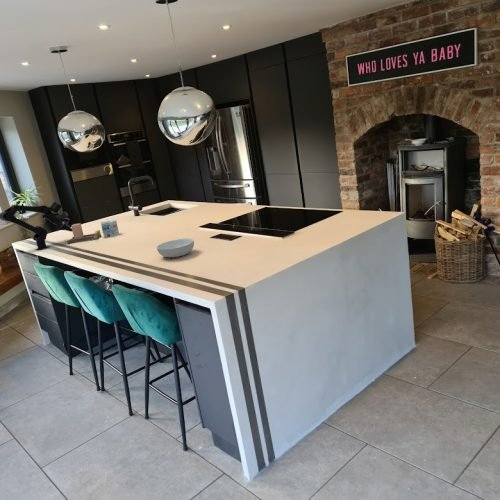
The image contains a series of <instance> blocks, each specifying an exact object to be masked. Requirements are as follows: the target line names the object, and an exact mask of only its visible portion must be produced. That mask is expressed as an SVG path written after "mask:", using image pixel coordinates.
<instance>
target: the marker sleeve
mask: <svg viewBox="0 0 500 500" xmlns="http://www.w3.org/2000/svg"><path fill="white" fill-rule="evenodd" d="M70 227H71V228H72V235H73V237H74V239H78V238H83V237H84V235H85V234H84V232H83V231H84V230H83V228H82V223H81V222H80V223H74V224H72V225H71V226H70Z"/></svg>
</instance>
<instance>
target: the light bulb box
mask: <svg viewBox="0 0 500 500" xmlns="http://www.w3.org/2000/svg"><path fill="white" fill-rule="evenodd" d="M100 225H101V230H102V234H103V238H104V239H105V238H112V237H118V235H120V232H119V227H118V223H117V219H111V220H106V221H102V222H101V223H100Z"/></svg>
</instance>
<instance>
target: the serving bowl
mask: <svg viewBox="0 0 500 500" xmlns="http://www.w3.org/2000/svg"><path fill="white" fill-rule="evenodd" d="M194 246H195V240H194V239H192V238H177V239H172V240H168V241H164V242H162V243H160V244H158V245H157V246H156V251H157V252H158V254H159V255H161V257H165V258H171V257H172V259H175V258H174V257H176V258H180V256H181V257H183V256H185V255H187V254H189V253H190V252H191V251H193V248H194Z"/></svg>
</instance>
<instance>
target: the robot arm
mask: <svg viewBox="0 0 500 500" xmlns="http://www.w3.org/2000/svg"><path fill="white" fill-rule="evenodd" d="M62 208H63V206H62V205H61V204H59V203H57V202H55V201H53V202H52V204H51V205H50V206H48V205H41V204H39V205H34V206H32V205H19V204H12V205H11V206H10V207H9V208H6V209H5V210H4V211H2V212H0V220H1V221H3V222H8V223H11V224H14V225H16V226H18V227H20V228H23V229H25V230H27V231H29V232H30V233H32V234H33V237H32V239H33V241H34V242H35V243H36V247H37V248H36V249H35V250H36V251H40V250H45V249H47V248H49V246H48V245H47V243H46V240H47V236H48V230H47V229H46V228H43V227H42V226H39V225H36V226H34V225H31V224H30V223H27V222H25V221H23V220H21V219H20V218H17V217H16V216H15V215H16V213H17V212H34V213H35V214H40V215H41V214H42V215H41V218H42V221H44V220H45V219H46V220H48V221H49V222H50V223H51V224H52V225H55V226H54V230H55V231H56V232H59V231H60V230H61V231H67V232H71V233H73V231H72V227H71V226H70V225H69V221H70V218H69V216H70V215H69V214H68V212H67V211H63V212H61V215H56V214H58V213H59V212H60V211H61V210H62Z"/></svg>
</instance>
